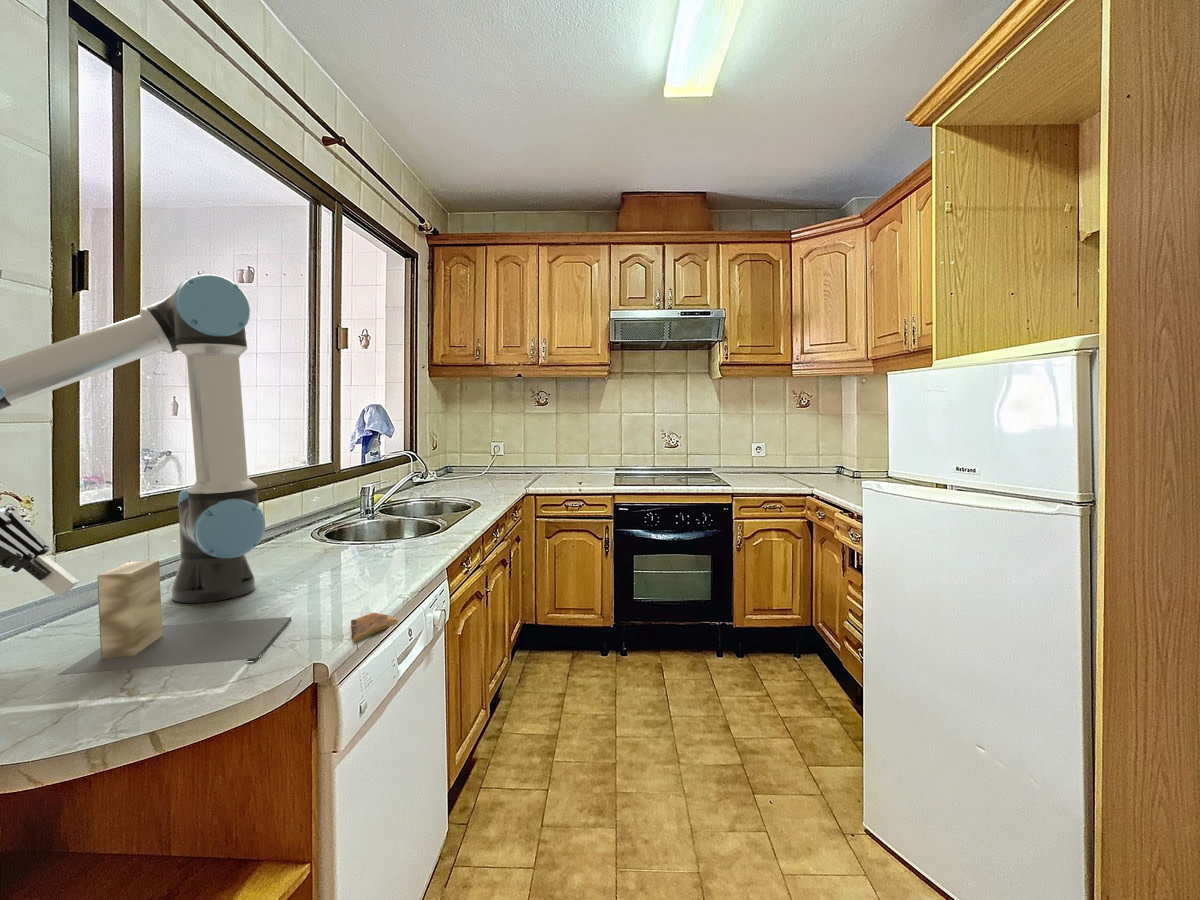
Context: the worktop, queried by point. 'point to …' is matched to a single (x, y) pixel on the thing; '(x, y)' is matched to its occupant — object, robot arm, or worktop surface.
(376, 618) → the shard
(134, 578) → the birch block
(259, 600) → the worktop surface
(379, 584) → the worktop surface
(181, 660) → the rubber mat
